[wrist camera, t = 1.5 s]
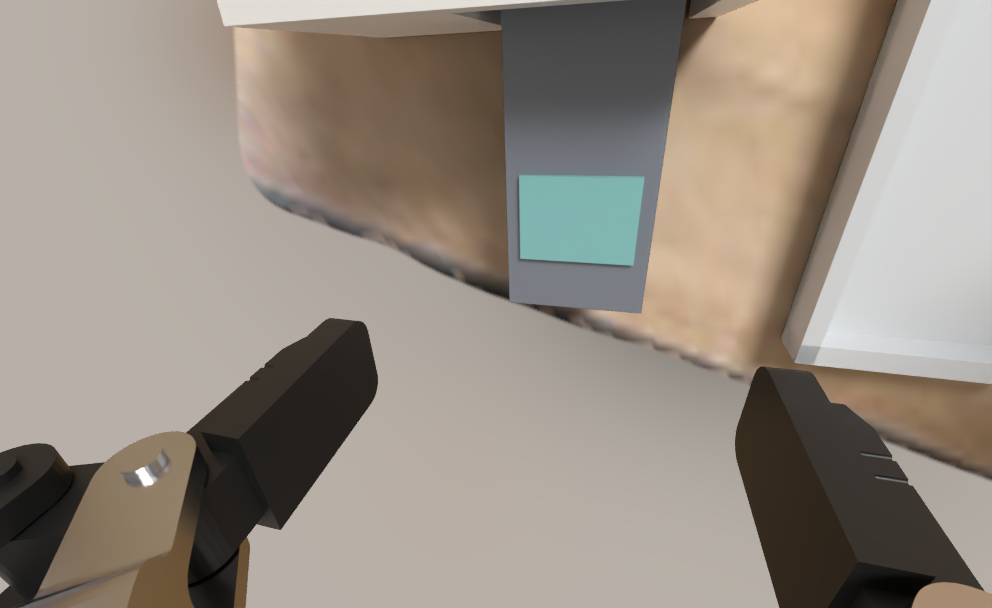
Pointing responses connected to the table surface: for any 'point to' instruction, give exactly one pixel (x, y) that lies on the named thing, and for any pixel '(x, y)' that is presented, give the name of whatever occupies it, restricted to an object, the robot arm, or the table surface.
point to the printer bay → (402, 15)
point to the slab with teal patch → (586, 147)
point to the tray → (910, 210)
